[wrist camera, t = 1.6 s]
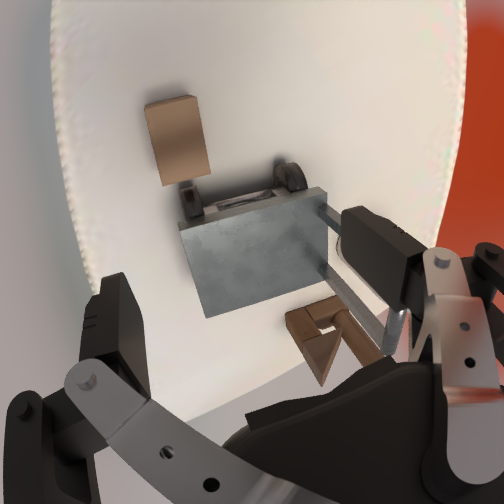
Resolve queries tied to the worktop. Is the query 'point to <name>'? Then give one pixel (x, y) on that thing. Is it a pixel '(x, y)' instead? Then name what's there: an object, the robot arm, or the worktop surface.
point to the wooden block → (329, 335)
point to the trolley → (270, 250)
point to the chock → (177, 139)
